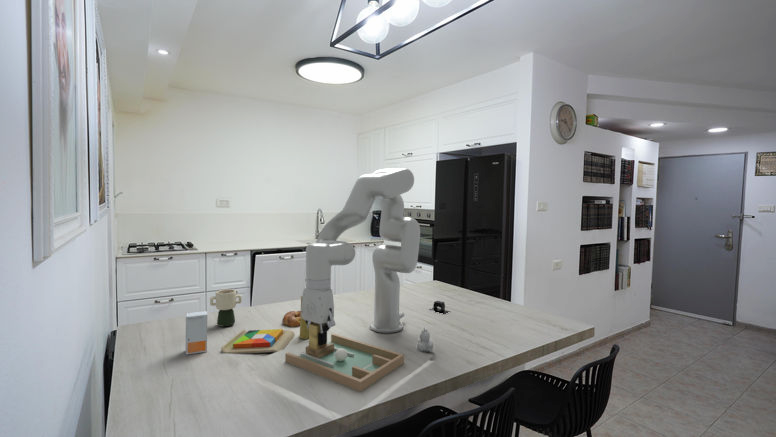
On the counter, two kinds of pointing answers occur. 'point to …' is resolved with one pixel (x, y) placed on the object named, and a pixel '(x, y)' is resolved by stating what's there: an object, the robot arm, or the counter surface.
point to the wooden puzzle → (258, 341)
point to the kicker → (313, 343)
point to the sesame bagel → (292, 318)
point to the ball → (341, 354)
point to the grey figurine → (425, 342)
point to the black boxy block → (440, 305)
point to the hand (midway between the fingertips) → (317, 342)
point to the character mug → (225, 306)
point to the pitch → (350, 363)
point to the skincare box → (196, 332)
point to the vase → (303, 327)
